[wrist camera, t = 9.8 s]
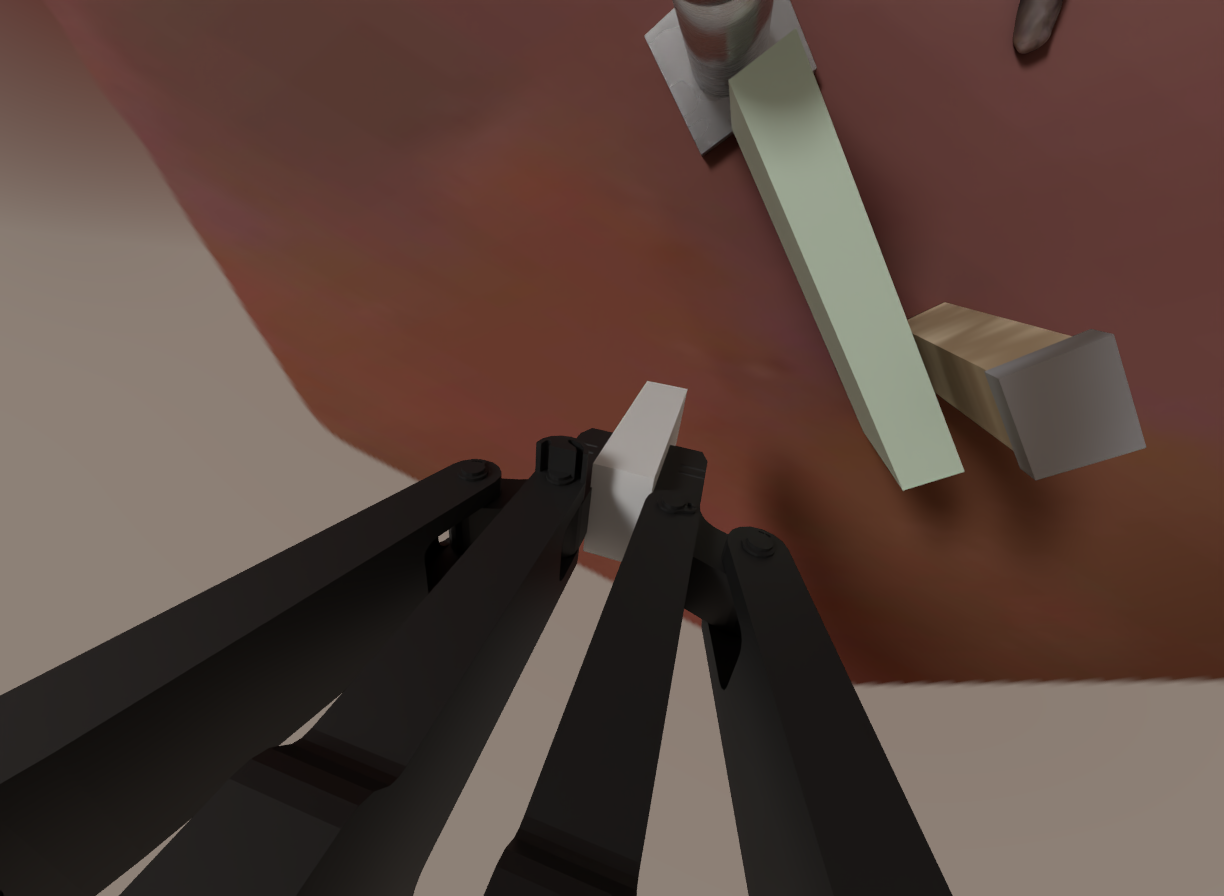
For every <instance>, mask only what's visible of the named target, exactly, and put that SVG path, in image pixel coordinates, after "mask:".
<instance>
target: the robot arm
mask: <svg viewBox="0 0 1224 896" xmlns="http://www.w3.org/2000/svg"><path fill="white" fill-rule="evenodd" d="M687 390H688V389H684V388H679V387H674V386H669V385H664V384H660V383H655V382H650V381H647V382H646V384H645V385H644V387H643V388H642V390H641V391H640V393H639V394H638V396H637V397H636V399H635V400H634V402H633V403H632V405H631V407H630V408H629V410H628V411H627V413H626V414H625V416H624V417H623V419H622V420H621V422H620V423H619V425H618V426H617V428H616V429H615V431H614V432H613V433H612V432H607V431H603V430H598V429H594V428H591V429H589V430H587V431H585V432H582V433H581V434H580V435H579V436H578V437H577V438H573V437H567V436H550V437H546V438H542V439H541V440H539V441H538V442H537V443H536V469H535V472H534V473H533V474H532V476H531V477H530V478H529V479H520V480H518V479H501V470H500V468H499V466H497V465H496V464H494V463H493V462H489V461H486V460H481V459H479V460H478V459H471V460H464V461H460V462H457V463H455V464H452V465H450V466H448V467H446V468H445V469H443V470H441V471H439V472H437V473H435V474H433V475H431V476H429V477H427V478H425V479H423V480H421V481H419V482H417V483H415V484H413V485H411V486H409V487H407V488H406V489H404V490H401V491H400V492H398V493H396V494H394V495H392V496H390V497H388V498H386V499H384V500H382V501H380V502H378V503H376V504H374V505H372V506H370V507H368V508H367V509H364V510H362V511H360V512H358V513H357V514H355V515H353V516H351V517H349V518H347V519H345V520H343V521H341V522H339V523H337V524H335V525H333V526H331V527H329V528H327V529H325V530H323V531H321V532H319V533H318V534H315V535H313V536H312V537H310V538H308V539H306V540H304V541H302V542H300V543H298V544H296V545H294V546H292V547H290V548H288V549H286V550H284V551H282V552H280V553H278V554H276V555H274V556H272V557H270V558H269V559H267V560H265V561H263V562H261V563H259V564H257V565H255V566H253V567H251V568H249V569H247V570H245V571H243V572H241V573H239V574H237V575H235V576H234V577H231V578H229V579H227V580H226V581H223V582H222V583H220V584H218V585H216V586H214V587H212V588H210V589H208V590H206V591H204V592H202V593H200V594H198V595H196V596H194V597H192V598H190V599H188V600H186V601H184V602H182V603H181V604H178V605H177V606H175V607H173V608H171V609H169V610H167V611H165V612H163V613H161V614H159V615H157V616H155V617H153V618H151V619H149V620H147V621H145V622H143V623H141V624H139V625H137V626H136V627H133V628H132V629H130V630H128V631H126V632H124V633H122V634H120V635H118V636H116V637H114V638H112V639H110V640H108V641H106V642H104V643H102V644H100V645H98V646H97V647H95V648H93V649H91V650H88V651H87V652H85V653H83V654H81V655H79V656H77V657H75V658H73V659H71V660H69V661H67V662H65V663H63V664H61V665H59V666H57V667H55V668H54V669H51V670H49V671H47V672H45V673H44V674H42V675H40V676H38V677H36V678H34V679H32V680H30V681H28V682H26V683H24V684H22V685H20V686H18V687H16V688H14V689H12V690H10V691H8V692H6V693H4V694H3V695H0V896H96V895H97V894H98V893H99V892H101V891H102V890H104V889H105V888H106V887H107V886H109V885H110V884H111V883H112V882H113V881H115V880H116V879H118V878H119V877H120V876H121V875H123V874H124V873H125V872H126V871H128V870H129V869H130V868H132V867H133V866H134V865H135V864H137V863H138V862H139V861H140V860H142V859H143V858H144V857H145V856H147V855H148V854H149V853H150V852H151V851H153V850H154V849H155V848H156V847H157V846H159V845H160V844H161V843H162V842H163V841H165V840H166V839H167V838H168V837H169V836H171V835H172V834H173V833H174V832H175V831H177V830H178V829H179V828H180V827H182V826H183V825H184V824H185V823H186V822H187V821H189V820H190V819H191V818H192V819H191V820H190V821H189V822H188V823H187V824H186V825H185V826H184V827H183V828H182V829H181V830H180V831H179V832H178V833H177V834H176V836H175V837H174V838H173V839H172V840H171V841H170V842H169V843H168V844H167V845H166V846H165V847H164V848H163V849H162V850H161V851H160V853H159V854H158V855H157V856H156V857H155V858H154V859H153V860H152V861H151V862H150V863H149V864H148V865H147V866H146V868H145V869H144V870H143V871H142V872H141V873H140V874H139V875H138V876H137V877H136V878H135V879H134V880H133V881H132V883H131V884H129V886H128V887H127V888H126V889H125V890H124V891H123V892H122V893H121V894H120V895H119V896H413V894H414V890H415V887H416V884H417V882H418V879H419V876H420V874H421V872H422V869H423V867H424V865H425V863H426V861H427V859H428V857H429V855H430V853H431V851H432V849H433V847H434V845H435V843H436V841H437V839H438V837H439V835H440V833H441V831H442V829H443V827H444V825H445V823H446V821H447V820H448V817H449V816H450V814H451V811H452V810H453V808H454V806H455V804H456V802H457V800H458V798H459V796H460V794H461V792H462V790H463V788H464V786H465V784H466V782H467V780H468V778H469V776H470V774H471V772H472V770H473V768H474V766H475V764H476V762H477V760H478V758H479V756H480V754H481V752H482V750H483V748H484V746H485V744H486V742H487V740H488V738H489V736H490V734H491V732H492V730H493V729H494V727H495V725H496V723H497V721H498V718H499V717H500V715H501V712H502V711H503V709H504V707H505V705H506V703H507V701H508V699H509V697H510V695H511V693H512V691H513V689H514V687H515V685H516V683H517V681H518V679H519V677H520V675H521V673H522V671H523V669H524V667H525V665H526V663H527V661H528V659H529V657H530V655H531V653H532V651H533V649H534V647H535V645H536V643H537V641H538V639H539V637H540V635H541V633H542V632H543V630H544V628H545V626H546V624H547V622H548V620H549V618H550V616H551V614H552V612H553V610H554V608H555V606H556V604H557V602H558V600H559V598H560V596H561V594H562V592H563V590H564V588H565V586H566V584H567V582H568V580H569V578H570V576H571V574H572V572H573V570H574V568H575V566H576V564H577V560H578V553H579V547H580V545H581V543H582V541H583V539H584V537H585V540H584V549H583V551H586V552H589V553H593V554H596V555H600V556H603V557H607V558H610V559H614V560H617V561H621V564H620V567H619V570H618V572H617V575H616V577H615V580H614V583H613V585H612V588H611V591H610V593H609V596H608V598H607V601H606V604H605V606H604V609H603V611H602V614H601V617H600V619H599V622H598V625H597V627H596V630H595V632H594V635H593V638H592V640H591V643H590V645H589V648H588V651H587V654H586V656H585V658H584V661H583V664H582V666H581V669H580V671H579V674H578V677H577V679H576V682H575V685H574V687H573V690H572V693H571V695H570V698H569V700H568V703H567V705H566V708H565V711H564V713H563V716H562V719H561V721H560V724H559V727H558V729H557V732H556V734H555V737H554V739H553V742H552V745H551V747H550V750H549V753H548V755H547V758H546V760H545V763H544V766H543V768H542V771H541V773H540V776H539V779H538V781H537V784H536V787H535V789H534V792H533V794H532V797H531V800H530V802H529V805H528V808H527V810H526V813H525V815H524V818H523V820H522V822H521V825H520V828H519V829H518V832H517V833H516V835H515V837H514V839H513V840H512V841H511V842H510V843H509V845H508V846H507V847H506V848H505V850H504V852H503V854H502V856H501V858H500V860H499V862H498V863H497V865H496V868H495V870H494V872H493V875H492V877H491V879H490V882H489V884H488V886H487V889H486V891H485V894H484V896H637V884H638V876H639V869H640V863H641V857H642V852H643V846H644V840H645V834H646V828H647V822H648V816H649V811H650V804H651V799H652V793H653V787H654V781H655V775H656V770H657V763H658V758H659V752H660V746H661V740H662V734H663V729H664V723H665V716H666V711H667V705H668V699H669V693H670V688H671V681H672V675H673V670H674V664H675V658H676V652H677V647H678V640H679V635H680V629H681V623H682V617H683V611H684V609H686V610H688V611H689V612H691V613H693V614H694V615H696V616H698V617H699V618H701V619H702V632H703V638H704V644H705V649H706V655H707V661H708V666H709V672H710V678H711V683H712V689H713V695H714V701H715V706H716V712H717V718H718V723H719V729H720V734H721V740H722V746H723V752H724V757H725V763H726V768H727V775H728V780H729V786H730V792H731V797H732V803H733V808H734V814H735V820H736V826H737V832H738V836H739V843H740V849H741V854H742V860H743V866H744V871H745V877H746V883H747V888H748V894H749V896H952V894H951V892H950V890H949V887H948V885H947V883H946V881H945V879H944V877H943V875H942V872H941V870H940V868H939V866H938V864H937V862H936V860H935V858H934V856H933V853H932V851H931V849H930V847H929V845H928V843H927V841H926V839H925V837H924V834H923V832H922V830H921V829H920V826H919V824H918V822H917V820H916V818H915V816H914V813H913V811H912V809H911V807H910V805H909V803H908V801H907V799H906V797H905V794H904V792H903V790H902V788H901V786H900V784H899V782H898V780H897V778H896V776H895V774H894V771H893V769H892V767H891V765H890V763H889V761H888V759H887V757H886V754H885V753H884V750H883V748H882V746H881V744H880V742H879V740H878V738H877V735H876V734H875V731H874V729H873V727H872V725H871V723H870V721H869V719H868V716H867V714H866V712H865V710H864V708H863V706H862V704H861V702H860V700H859V697H858V695H857V693H856V691H855V689H854V687H853V685H852V683H851V681H850V679H849V676H848V674H847V672H846V670H845V668H844V666H843V664H842V662H841V660H840V657H839V655H838V653H837V651H836V649H835V647H834V645H833V643H832V641H831V638H830V636H829V634H828V632H827V630H826V628H825V626H824V624H823V622H822V619H821V617H820V615H819V613H818V611H817V609H816V607H815V605H814V603H813V601H812V598H811V596H810V594H809V592H808V590H807V588H806V586H805V584H804V582H803V579H802V577H801V575H800V573H799V571H798V569H797V567H796V565H795V563H794V560H793V558H792V556H791V554H790V552H789V550H788V548H787V547H786V546H785V544H784V543H783V542H782V541H781V540H780V539H778V538H777V537H776V536H774V535H773V534H771V533H769V532H767V531H765V530H762V529H758V528H754V527H738V528H736V529H733V530H732V531H731V532H730V533H729V534H726V533H724V532H722V531H720V530H719V529H717V528H715V527H713V526H712V525H711V524H709V523H708V522H707V521H706V520H705V519H704V517H703V516H702V514H701V512H700V502H701V496H702V491H703V485H704V478H705V473H706V467H707V460H706V458H705V456H704V455H703V453H702V452H700V451H695V450H691V449H687V448H682V447H678V446H676V442H677V437H678V432H679V428H680V423H681V418H682V413H683V409H684V404H685V399H686V394H687ZM447 530H449V538H447V539H446V540H444V541H442V542H440V543H439V541H438V536H440V535H441V534H443V533H444V532H446V531H447ZM341 693H342V694H341ZM340 694H341V695H340ZM339 695H340V696H339ZM338 696H339V697H338ZM337 697H338V699H337V700H336V701H335V702H334V703H333V704H332V706H331V707H330V708H329V709H328V710H327V711H326V713H325V714H324V715H323V716H322V717H321V718H320V719H319V720H318V722H317V723H316V724H315V725H314V726H313V728H311V729H310V730H309V731H308V732H307V733H306V734H305V735H304V736H303V737H302V738H301V739H299V740H298V741H296V742H294V743H293V744H289V745H283V746H279V745H280V744H281V743H282V742H284V741H285V740H286V739H287V738H288V737H290V736H291V735H292V734H293V733H294V732H296V731H297V730H298V729H299V728H300V727H302V726H303V725H304V724H305V723H306V722H308V721H309V720H310V719H311V718H312V717H314V716H315V715H316V714H317V713H318V712H320V711H321V710H322V709H323V708H324V707H326V706H327V705H328V704H329V703H330V702H332V701H333V700H334V699H335V698H337Z"/></svg>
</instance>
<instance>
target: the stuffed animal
mask: <svg viewBox="0 0 1224 896" xmlns="http://www.w3.org/2000/svg"><path fill="white" fill-rule="evenodd" d="M1062 1H1063V0H1020V4H1019V7H1018V11H1017V15H1016V21H1015V27H1014V33H1013V44H1014V46H1015V48H1016V50H1017V51H1018V52H1020V53H1022V54H1025V53H1029V52H1032V51H1034V50H1036V49H1038V48H1039V47H1041V46H1042V45H1043V44H1044V43H1046V42H1047V40H1048V39H1049V38H1050V35H1051V31H1052V29H1053V26H1054V24H1055V22H1056V19H1057V17H1058V14H1059V12H1060V9H1061V5H1062Z"/></svg>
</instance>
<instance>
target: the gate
mask: <svg viewBox="0 0 1224 896" xmlns="http://www.w3.org/2000/svg"><path fill="white" fill-rule="evenodd" d="M728 81H729V95H730V110H731V124H732V130H733V132H734V135H735V137H736V139H737V142H738V144H739V146H740V149H741V151H742V153H743V156H744V158H745V160H746V162H747V165H748V167H749V169H750V172H751V174H752V176H753V179H754V181H755V183H756V185H757V188H758V190H759V192H760V195H761V197H762V199H763V202H764V204H765V206H766V208H767V211H768V213H769V215H770V218H771V220H772V222H773V225H774V227H775V229H776V232H777V234H778V236H779V238H780V241H781V243H782V245H783V248H784V250H785V252H786V255H787V257H788V259H789V261H790V264H791V266H792V268H793V271H794V273H795V275H796V278H797V280H798V282H799V284H800V287H801V289H802V291H803V294H804V296H805V298H806V301H807V303H808V305H809V307H810V310H811V312H812V314H813V317H814V319H815V321H816V324H817V326H818V328H819V331H820V333H821V335H822V337H823V340H824V342H825V344H826V347H827V349H828V351H829V354H830V356H831V358H832V360H833V363H834V365H835V367H836V370H837V372H838V374H839V377H840V379H841V381H842V383H843V386H844V388H845V390H846V393H847V395H848V397H849V400H850V402H851V404H852V406H853V409H854V411H855V413H856V416H857V418H858V420H859V423H860V425H861V427H862V430H863V432H864V433H865V435H866V436H867V438H868V439H869V441H870V442H871V444H872V445H873V447H874V448H875V450H876V451H877V453H878V454H879V456H880V457H881V459H882V460H883V462H884V463H885V465H886V466H887V468H888V469H889V471H890V472H891V474H892V475H893V477H894V478H895V480H896V481H897V483H898V484H899V486H900V487H901V489H902V490H906V489H910V488H913V487H916V486H920V485H923V484H926V483H929V482H933V481H936V480H939V479H942V478H946V477H949V476H952V475H955V474H959V473H962V472H964V469H963V466H962V464H961V461H960V458H959V456H958V453H957V450H956V448H955V445H954V443H953V440H952V437H951V435H950V432H949V429H948V427H947V424H946V421H945V419H944V416H943V414H942V411H941V408H940V406H939V403H938V400H937V398H936V395H935V392H934V390H933V387H932V385H931V382H930V379H929V377H928V374H927V371H926V369H925V366H924V363H923V361H922V358H921V356H920V353H919V350H918V348H917V345H916V342H915V340H914V337H913V334H912V332H911V329H910V327H909V324H908V321H907V319H906V316H905V313H904V311H903V308H902V305H901V303H900V300H899V298H898V295H897V292H896V290H895V287H894V284H893V282H892V279H891V277H890V274H889V271H888V269H887V266H886V263H885V261H884V258H883V255H882V253H881V250H880V248H879V245H878V242H877V240H876V237H875V234H874V232H873V229H872V226H871V224H870V221H869V219H868V216H867V213H866V211H865V208H864V205H863V203H862V200H861V197H860V195H859V192H858V190H857V187H856V184H855V182H854V179H853V176H852V174H851V171H850V168H849V166H848V163H847V161H846V158H845V155H844V153H843V150H842V147H841V145H840V142H839V139H838V137H837V134H836V132H835V129H834V126H833V124H832V121H831V118H830V116H829V113H828V110H827V108H826V105H825V103H824V100H823V97H822V95H821V92H820V89H819V87H818V84H817V81H816V79H815V76H814V74H813V71H812V68H811V66H810V63H809V60H808V58H807V55H806V53H805V50H804V47H803V45H802V42H801V39H800V37H799V34H798V31H797V29H796V28H795V29H794V30H792V31H791V32H790V33H789V34H787V35H786V36H785V37H783V38H782V39H781V40H780V41H778V42H777V43H776V44H774V45H773V46H772V47H771V48H769V49H768V50H767V51H765V52H764V53H763V54H762V55H760V56H759V57H758V58H756V59H755V60H754V61H753V62H751V63H750V64H749V65H747V66H746V67H745V68H744V69H742V70H741V71H740V72H738V73H737V74H736V75H735V76H733V77H732V78H731V79H729V80H728Z"/></svg>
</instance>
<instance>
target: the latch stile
mask: <svg viewBox="0 0 1224 896" xmlns="http://www.w3.org/2000/svg"><path fill="white" fill-rule="evenodd" d="M907 321H908V324H909V327H910V329H911V332H912V334H913V337H914V340H915V342H916V345H917V348H918V350H919V353H920V356H921V358H922V361H923V363H924V366H925V369H926V371H927V374H928V377H929V379H930V382H931V385H932V387H933V390H934V392H935V393H936V394H938V395H939V396H940V397H942V398H943V399H944V400H946V401H947V402H948V403H950V404H951V405H952V406H954V407H955V408H956V409H958V410H959V411H960V412H962V413H963V414H964V415H966V416H967V417H969V418H970V419H971V420H973V421H974V422H975V423H977V424H978V425H979V426H981V427H982V428H983V429H985V430H986V431H987V432H989V433H990V434H991V435H993V436H994V437H995V438H997V439H998V440H999V441H1001V442H1002V443H1003V444H1005V445H1006V446H1007V447H1009V448H1010V449H1012V450H1013V451H1014V453H1015V456H1016V459H1017V461H1018V464H1019V467H1020V469H1022V470H1023V471H1024V472H1025V473H1027V474H1028V475H1029V476H1031V477H1032V478H1033V479H1034V480H1039V479H1042V478H1046V477H1049V476H1053V475H1056V474H1059V473H1063V472H1066V471H1069V470H1073V469H1076V468H1079V467H1083V466H1086V465H1090V464H1093V463H1096V462H1100V461H1103V460H1106V459H1110V458H1113V457H1117V456H1120V455H1123V454H1127V453H1130V452H1133V451H1137V450H1140V449H1144V448H1146V445H1145V441H1144V438H1143V434H1142V431H1141V427H1140V424H1139V420H1138V417H1137V414H1136V410H1135V407H1134V403H1133V400H1132V396H1131V393H1130V389H1129V386H1128V382H1127V379H1126V375H1125V372H1124V368H1123V365H1122V361H1121V358H1120V354H1119V351H1118V348H1117V344H1116V341H1115V337H1114V334H1110V333H1106V332H1102V331H1097V330H1093V329H1090V330H1087V331H1085V332H1082V333H1080V334H1077V335H1075V336H1069V335H1065V334H1061V333H1057V332H1054V331H1050V330H1046V329H1042V328H1039V327H1035V326H1031V325H1027V324H1024V323H1020V322H1016V321H1013V320H1009V319H1005V318H1001V317H998V316H994V315H990V314H986V313H983V312H979V311H975V310H971V309H968V308H964V307H960V306H957V305H953V304H949V303H945V302H944V303H942V304H940V305H938V306H936V307H934V308H932V309H930V310H927V311H925V312H923V313H921V314H919V315H917V316H915V317H913V318H910V319H908V320H907Z"/></svg>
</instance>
